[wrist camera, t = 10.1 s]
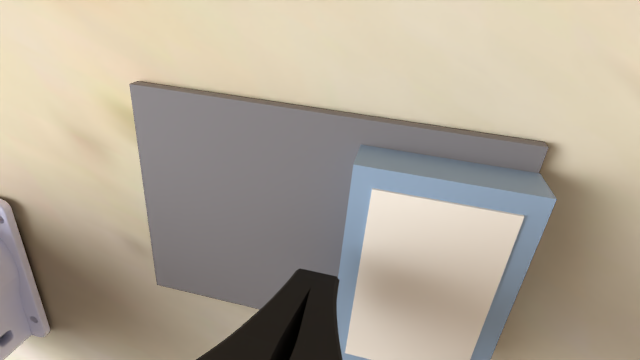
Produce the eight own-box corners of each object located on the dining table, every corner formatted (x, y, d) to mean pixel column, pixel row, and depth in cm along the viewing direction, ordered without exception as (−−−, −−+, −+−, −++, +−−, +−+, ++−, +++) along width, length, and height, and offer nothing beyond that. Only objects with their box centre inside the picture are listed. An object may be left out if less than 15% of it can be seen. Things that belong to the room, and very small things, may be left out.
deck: (335, 326, 18) (470, 358, 17) (326, 360, 16) (475, 398, 15) (360, 144, 14) (540, 173, 13) (352, 165, 12) (557, 200, 11)
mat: (467, 350, 18) (468, 359, 17) (162, 278, 20) (157, 284, 20) (544, 141, 13) (548, 147, 13) (137, 81, 15) (129, 83, 15)
